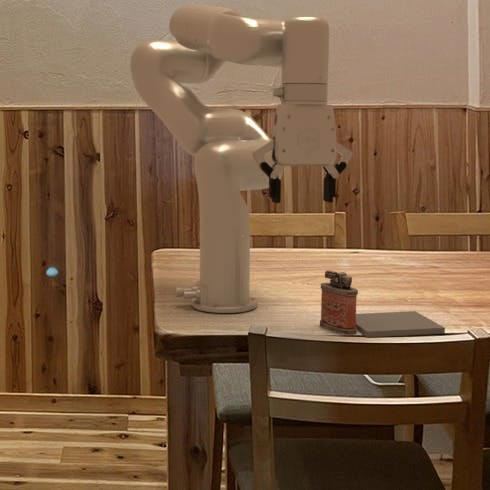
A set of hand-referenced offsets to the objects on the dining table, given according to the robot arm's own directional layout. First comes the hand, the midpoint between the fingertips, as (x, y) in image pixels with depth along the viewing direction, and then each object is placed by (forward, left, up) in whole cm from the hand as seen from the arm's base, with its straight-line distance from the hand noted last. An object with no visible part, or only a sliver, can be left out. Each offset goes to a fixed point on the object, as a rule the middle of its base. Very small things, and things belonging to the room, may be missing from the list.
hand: (302, 201), depth 133 cm
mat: (+17, 0, -22) cm, 28 cm away
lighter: (+7, 0, -22) cm, 23 cm away
